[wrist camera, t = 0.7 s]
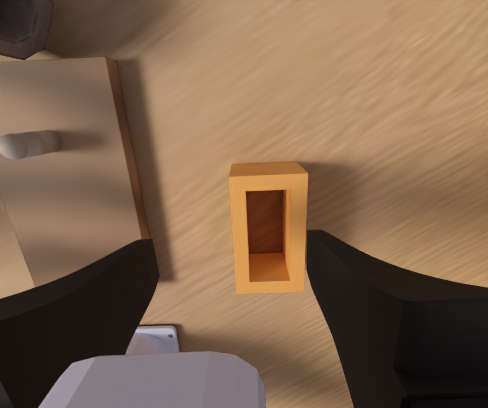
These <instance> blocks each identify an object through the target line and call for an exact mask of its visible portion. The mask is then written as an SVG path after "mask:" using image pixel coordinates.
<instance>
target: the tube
mask: <svg viewBox="0 0 488 408" xmlns="http://www.w3.org/2000/svg"><path fill="white" fill-rule="evenodd" d="M52 11H53V4H52V2H51V0H0V55H3V56H7V57H12V58H16V59H21V60H25V59H27V58H29V57H30V56H32V55H34V54H36V53H37V52H39V51H41V50H43V49H44V48H45V47H46V43H47V38H48V32H49V27H50V22H51V17H52Z"/></svg>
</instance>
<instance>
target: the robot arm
mask: <svg viewBox="0 0 488 408" xmlns="http://www.w3.org/2000/svg"><path fill="white" fill-rule="evenodd" d="M306 269H307V273H308V276H309V280H310V284H311V287H312V289H313V292H314V294H315V297H316V299H317V301H318V304H319V306H320V308H321V310H322V313H323V315H324V317H325V320H326V322H327V324H328V326H329V329H330V331H331V334H332V336H333V339H334V342H335V345H336V348H337V352H338V355H339V358H340V361H341V364H342V368H343V371H344V374H345V378H346V381H347V384H348V388H349V391H350V395H351V399H352V402H353V406H354V408H488V288H487V287H481V286H475V285H469V284H463V283H457V282H453V281H448V280H444V279H439V278H435V277H431V276H427V275H423V274H420V273H417V272H413V271H410V270H407V269H403V268H401V267H398V266H395V265H392V264H389V263H387V262H384V261H382V260H379V259H377V258H374V257H372V256H370V255H368V254H366V253H364V252H362V251H360V250H358V249H356V248H354V247H352V246H350V245H348V244H346V243H345V242H343V241H341V240H339V239H338V238H336V237H334V236H332V235H331V234H329V233H327V232H325V231H323V230H307V268H306ZM158 279H159V271H158V266H157V261H156V256H155V251H154V246H153V241H152V239H139V240H136V241H134V242H131V243H129V244H127V245H125V246H123V247H122V248H120V249H118V250H116V251H114V252H112V253H111V254H109V255H107V256H105V257H103V258H101V259H99V260H97V261H95V262H93V263H91V264H89V265H87V266H85V267H83V268H81V269H79V270H77V271H75V272H73V273H71V274H68V275H66V276H64V277H61V278H59V279H57V280H54V281H52V282H49V283H46V284H44V285H41V286H38V287H35V288H32V289H29V290H27V291H24V292H21V293H18V294H15V295H11V296H8V297H5V298H1V299H0V408H266V398H265V386H264V384H263V382H262V380H261V377H260V375H259V373H258V370H257V369H256V368H255V367H253V366H252V365H250V364H248V363H247V362H245V361H244V360H242V359H241V358H239V357H238V356H236V355H233V354H227V353H220V352H214V351H203V352H180V350H179V344H178V339H177V333H176V328H175V327H174V326H140V327H138V325H139V323H140V321H141V319H142V317H143V315H144V313H145V311H146V309H147V307H148V305H149V303H150V301H151V299H152V297H153V295H154V292H155V289H156V286H157V283H158ZM170 334H172V335H170Z"/></svg>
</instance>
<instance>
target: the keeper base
mask: <svg viewBox="0 0 488 408" xmlns="http://www.w3.org/2000/svg"><path fill="white" fill-rule="evenodd" d="M0 196H1V199H2V201H3V204H4V207H5V209H6V212H7V215H8V217H9V220H10V222H11V225H12V228H13V230H14V233H15V235H16V238H17V241H18V243H19V246H20V248H21V251H22V254H23V256H24V259H25V261H26V264H27V267H28V269H29V272H30V274H31V277H32V280H33V282H34V285H35V287H38V286H41V285H44V284H46V283H49V282H52V281H54V280H57V279H59V278H61V277H64V276H66V275H68V274H71V273H73V272H75V271H77V270H79V269H81V268H83V267H85V266H87V265H89V264H91V263H93V262H95V261H97V260H99V259H101V258H103V257H105V256H107V255H109V254H111V253H112V252H114V251H116V250H118V249H120V248H122V247H123V246H125V245H127V244H129V243H131V242H134V241H136V240H139V239H150V238H149V232H148V227H147V222H146V216H145V211H144V206H143V200H142V195H141V190H140V185H139V179H138V174H137V169H136V163H135V158H134V153H133V148H132V142H131V137H130V132H129V126H128V121H127V116H126V110H125V105H124V100H123V95H122V89H121V84H120V79H119V73H118V68H117V63H116V61H115V60H112V59H110V58H107V57H89V58H70V59H51V60H32V61H13V62H0Z"/></svg>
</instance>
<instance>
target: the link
mask: <svg viewBox="0 0 488 408" xmlns="http://www.w3.org/2000/svg"><path fill="white" fill-rule="evenodd" d="M229 185H230V200H231V215H232V230H233V245H234V260H235V275H236V290H237V294H246V293H274V292H303V291H304V267H305V242H306V217H307V192H308V173H307V172H306V171H305V170H304V169H303V168H302V167H301V166H300V165H299V164H298V163H297V162H280V163H257V164H235V165H232V166H231V170H230V175H229ZM264 190H283V253H260V254H249V248H248V225H247V203H246V191H264Z"/></svg>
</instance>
